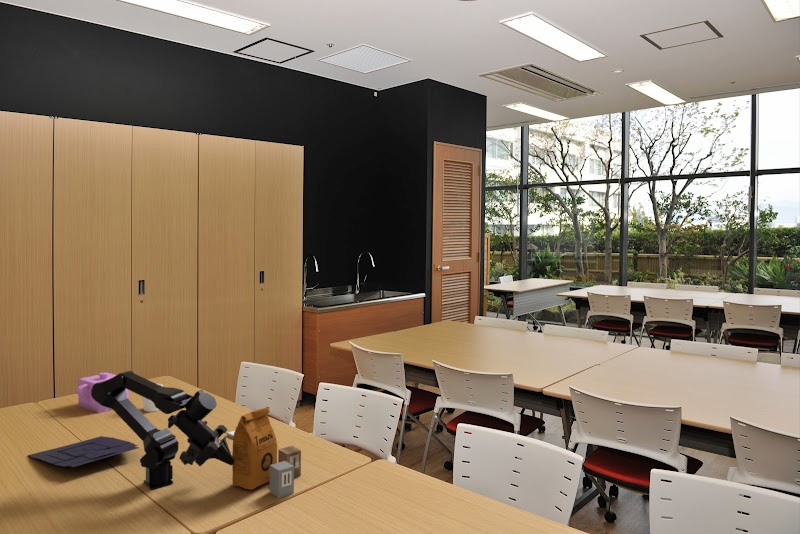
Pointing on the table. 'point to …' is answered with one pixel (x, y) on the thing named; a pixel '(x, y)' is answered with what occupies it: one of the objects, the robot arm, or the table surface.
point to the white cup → (150, 403)
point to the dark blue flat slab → (85, 451)
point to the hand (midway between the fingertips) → (232, 464)
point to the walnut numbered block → (291, 458)
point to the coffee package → (253, 450)
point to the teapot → (85, 392)
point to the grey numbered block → (281, 479)
